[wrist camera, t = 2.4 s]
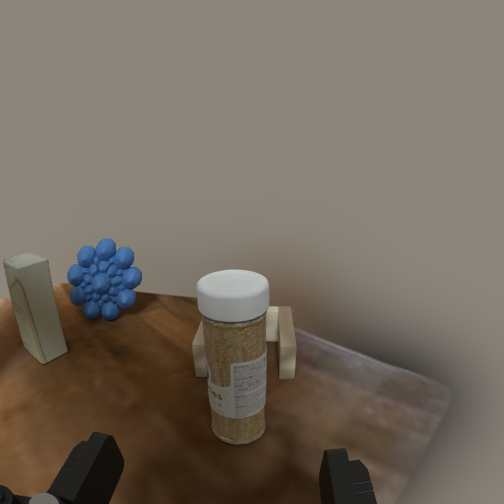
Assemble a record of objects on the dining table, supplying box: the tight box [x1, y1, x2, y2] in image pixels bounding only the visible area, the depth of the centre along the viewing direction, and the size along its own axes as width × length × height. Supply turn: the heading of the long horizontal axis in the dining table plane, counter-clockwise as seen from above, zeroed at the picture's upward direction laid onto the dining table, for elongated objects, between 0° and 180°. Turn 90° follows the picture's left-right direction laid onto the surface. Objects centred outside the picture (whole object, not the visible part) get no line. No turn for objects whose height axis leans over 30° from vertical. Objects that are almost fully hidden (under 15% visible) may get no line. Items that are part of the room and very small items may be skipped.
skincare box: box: [3, 252, 68, 364], centre depth 30 cm, size 6×4×12 cm
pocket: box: [192, 306, 297, 379], centre depth 34 cm, size 10×9×4 cm
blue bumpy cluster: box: [67, 239, 142, 321], centre depth 41 cm, size 12×7×12 cm, turn 100°
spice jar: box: [197, 270, 269, 444], centre depth 21 cm, size 5×5×14 cm
